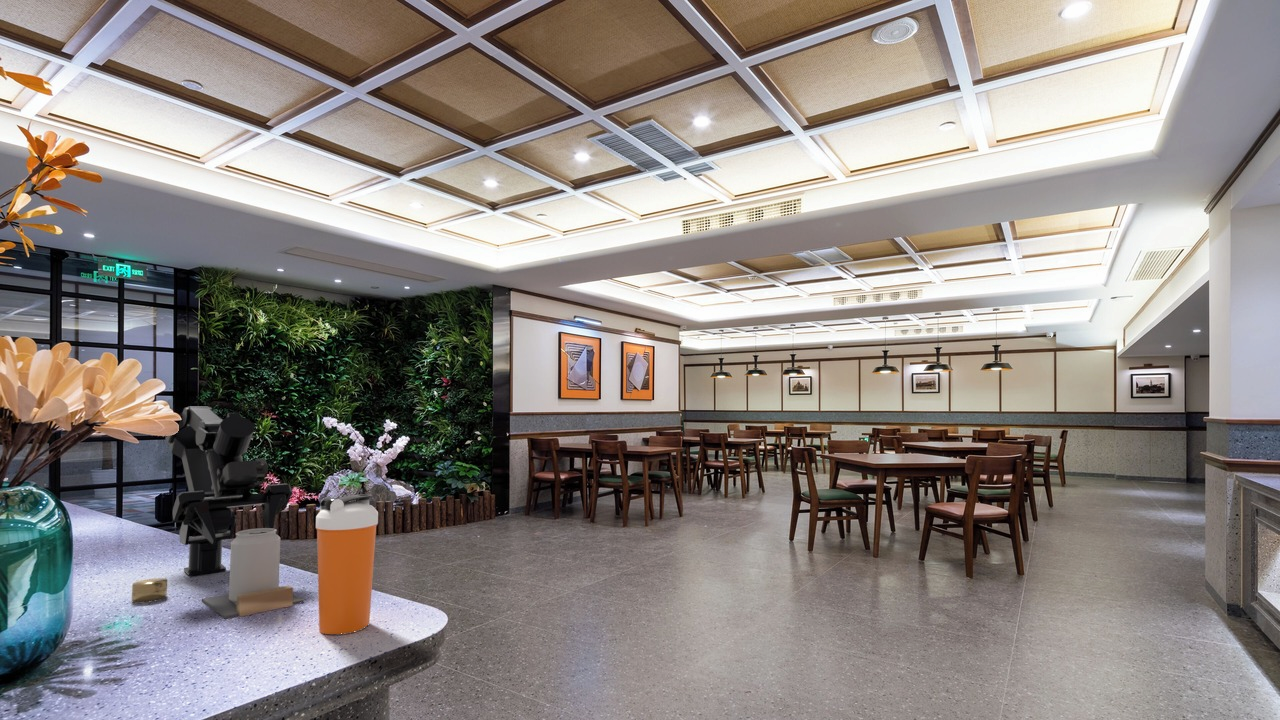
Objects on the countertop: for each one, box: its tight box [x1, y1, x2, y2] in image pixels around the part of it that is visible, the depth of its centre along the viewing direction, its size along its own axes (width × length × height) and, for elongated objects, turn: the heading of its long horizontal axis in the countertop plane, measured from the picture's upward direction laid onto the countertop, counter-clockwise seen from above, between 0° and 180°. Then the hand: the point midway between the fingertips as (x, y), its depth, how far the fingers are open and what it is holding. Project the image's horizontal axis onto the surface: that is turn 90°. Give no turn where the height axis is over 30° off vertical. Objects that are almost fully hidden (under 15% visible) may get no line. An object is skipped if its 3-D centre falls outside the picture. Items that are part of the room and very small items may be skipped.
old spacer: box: [131, 577, 168, 603], centre depth 117 cm, size 5×5×3 cm
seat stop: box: [236, 585, 294, 617], centre depth 110 cm, size 2×8×3 cm, turn 137°
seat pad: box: [201, 593, 305, 620], centre depth 115 cm, size 14×12×1 cm
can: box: [228, 527, 281, 604], centre depth 114 cm, size 8×8×12 cm
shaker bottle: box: [315, 493, 379, 635], centre depth 102 cm, size 9×9×20 cm
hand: (243, 538), depth 120 cm, fingers open, 9 cm apart
